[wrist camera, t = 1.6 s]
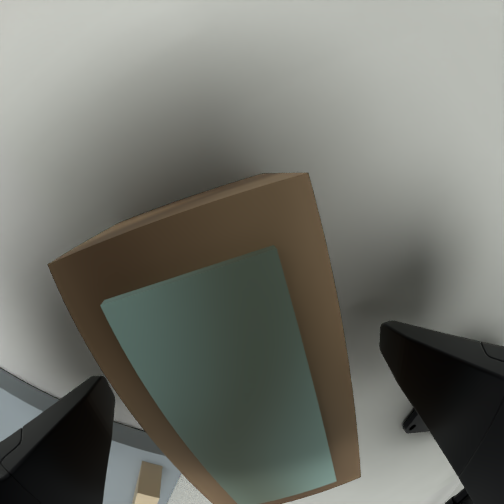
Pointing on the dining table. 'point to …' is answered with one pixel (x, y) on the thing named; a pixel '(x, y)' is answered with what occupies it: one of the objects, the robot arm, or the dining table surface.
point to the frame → (225, 337)
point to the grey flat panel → (121, 452)
